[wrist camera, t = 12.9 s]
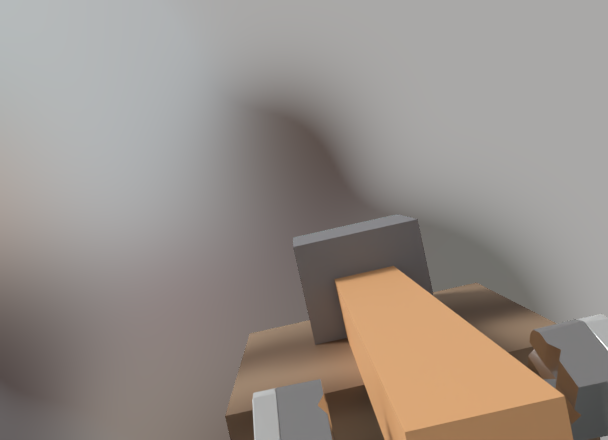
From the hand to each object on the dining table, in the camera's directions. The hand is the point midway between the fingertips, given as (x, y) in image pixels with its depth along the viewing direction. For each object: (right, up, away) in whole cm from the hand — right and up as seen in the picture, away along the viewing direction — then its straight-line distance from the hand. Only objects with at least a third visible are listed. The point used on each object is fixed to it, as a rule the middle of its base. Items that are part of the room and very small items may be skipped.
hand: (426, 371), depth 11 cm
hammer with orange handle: (0, -1, +5) cm, 5 cm away
